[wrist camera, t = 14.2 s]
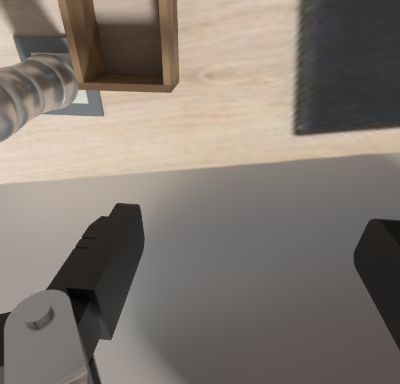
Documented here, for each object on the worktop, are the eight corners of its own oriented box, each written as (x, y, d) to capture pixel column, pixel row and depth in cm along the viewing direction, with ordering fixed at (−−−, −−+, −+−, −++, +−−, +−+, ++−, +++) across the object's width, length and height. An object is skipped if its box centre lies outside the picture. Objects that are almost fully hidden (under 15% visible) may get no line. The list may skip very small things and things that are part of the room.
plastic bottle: (64, 43, 33) (-97, 62, 17) (94, 94, 37) (-16, 153, 20) (27, 62, 35) (-154, 98, 18) (58, 110, 38) (-71, 177, 22)
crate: (81, -23, 30) (50, -33, 24) (176, -23, 29) (165, -33, 24) (100, 79, 36) (78, 89, 30) (179, 82, 35) (170, 92, 30)
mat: (14, 36, 34) (12, 36, 33) (89, 37, 33) (87, 37, 33) (39, 113, 39) (38, 114, 39) (104, 115, 39) (102, 116, 38)
